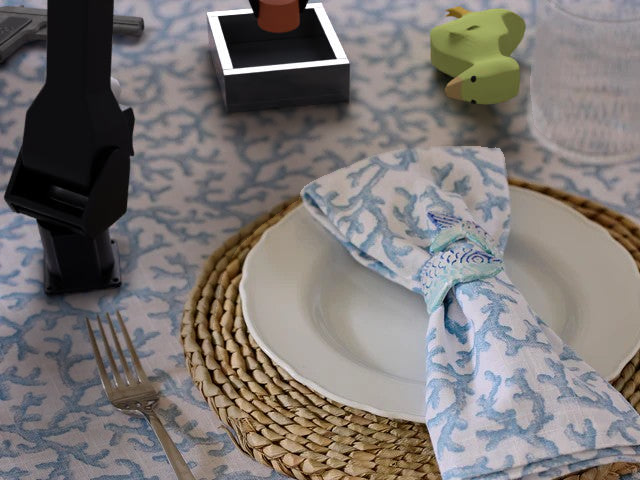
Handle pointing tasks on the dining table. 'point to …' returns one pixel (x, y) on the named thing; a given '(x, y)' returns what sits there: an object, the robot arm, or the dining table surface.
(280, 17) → the stopper
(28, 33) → the pistol
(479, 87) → the toy
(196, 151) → the dining table surface
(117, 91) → the white bumpy ball
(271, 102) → the dark grey open box
